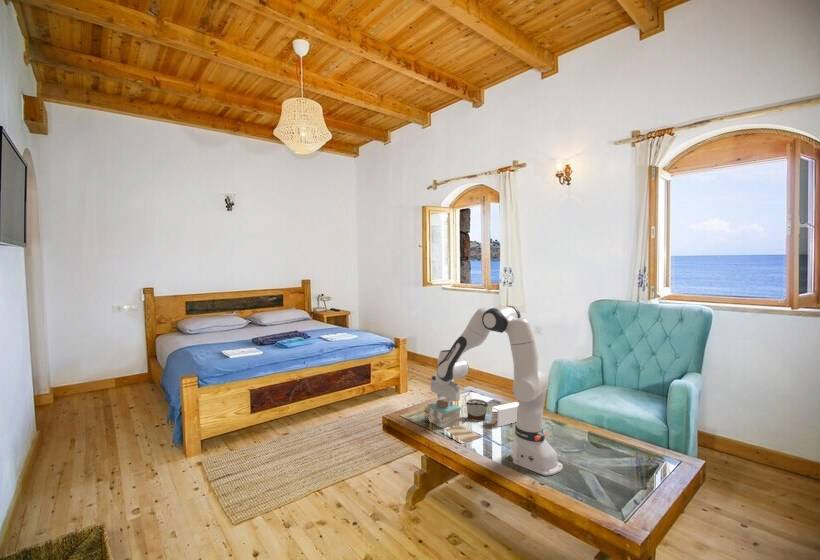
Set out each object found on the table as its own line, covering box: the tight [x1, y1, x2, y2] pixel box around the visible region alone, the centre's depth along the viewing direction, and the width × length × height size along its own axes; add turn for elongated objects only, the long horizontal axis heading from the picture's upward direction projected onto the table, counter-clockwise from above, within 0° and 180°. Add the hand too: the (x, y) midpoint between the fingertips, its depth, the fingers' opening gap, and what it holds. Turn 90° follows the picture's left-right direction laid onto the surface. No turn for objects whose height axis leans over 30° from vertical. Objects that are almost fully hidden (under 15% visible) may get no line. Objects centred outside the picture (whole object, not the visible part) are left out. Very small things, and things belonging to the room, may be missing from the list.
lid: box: [427, 398, 462, 414], centre depth 216 cm, size 13×13×5 cm
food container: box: [465, 398, 489, 422], centre depth 225 cm, size 12×6×10 cm, turn 84°
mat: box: [445, 425, 482, 443], centre depth 202 cm, size 16×14×1 cm
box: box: [427, 407, 461, 429], centre depth 217 cm, size 12×12×8 cm
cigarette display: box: [490, 401, 519, 428], centre depth 220 cm, size 20×6×9 cm, turn 121°
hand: (444, 404), depth 216 cm, fingers open, 5 cm apart
